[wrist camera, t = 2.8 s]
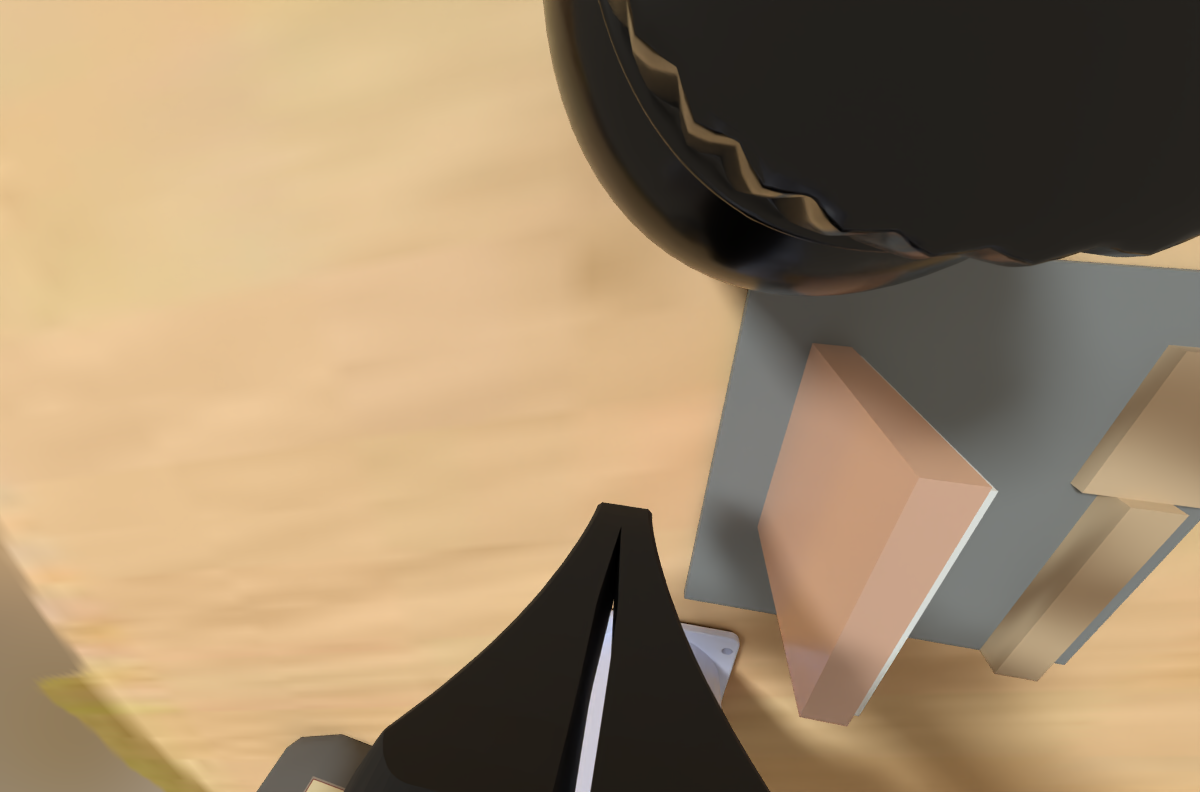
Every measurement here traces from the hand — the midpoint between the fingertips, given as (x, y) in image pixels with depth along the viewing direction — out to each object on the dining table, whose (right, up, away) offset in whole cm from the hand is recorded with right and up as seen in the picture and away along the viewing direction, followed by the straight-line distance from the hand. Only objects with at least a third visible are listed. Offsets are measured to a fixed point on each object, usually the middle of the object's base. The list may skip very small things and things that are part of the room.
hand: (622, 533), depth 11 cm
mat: (+12, 0, +4) cm, 13 cm away
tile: (+7, +2, +4) cm, 8 cm away
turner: (+17, -1, +4) cm, 18 cm away
